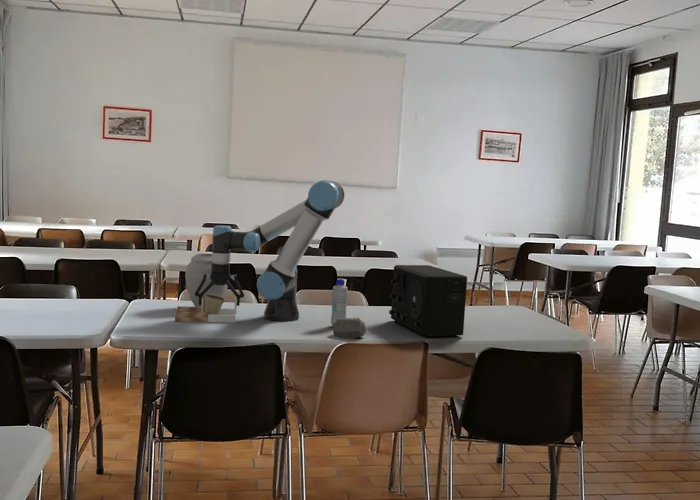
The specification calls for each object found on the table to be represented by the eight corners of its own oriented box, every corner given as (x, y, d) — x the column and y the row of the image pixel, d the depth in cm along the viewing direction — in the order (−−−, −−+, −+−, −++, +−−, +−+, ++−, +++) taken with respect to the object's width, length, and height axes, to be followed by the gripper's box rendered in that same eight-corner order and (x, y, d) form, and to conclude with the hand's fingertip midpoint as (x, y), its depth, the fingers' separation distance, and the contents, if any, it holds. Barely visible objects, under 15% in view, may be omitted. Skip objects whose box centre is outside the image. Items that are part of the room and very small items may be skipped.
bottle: (334, 328, 285) (337, 280, 283) (327, 325, 291) (329, 277, 289) (349, 328, 288) (351, 280, 287) (341, 324, 294) (344, 277, 292)
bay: (234, 315, 302) (234, 308, 302) (235, 322, 287) (235, 315, 287) (208, 314, 300) (208, 307, 300) (207, 322, 285) (208, 314, 285)
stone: (330, 336, 271) (332, 316, 271) (338, 332, 279) (339, 313, 278) (361, 340, 267) (362, 320, 267) (367, 336, 275) (368, 317, 274)
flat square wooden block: (210, 315, 300) (211, 307, 299) (210, 321, 286) (210, 313, 286) (177, 314, 297) (177, 306, 297) (175, 321, 283) (175, 312, 283)
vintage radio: (383, 320, 310) (386, 264, 308) (423, 319, 317) (426, 264, 314) (420, 339, 275) (424, 276, 273) (464, 338, 282) (468, 276, 279)
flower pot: (211, 320, 287) (216, 299, 286) (193, 313, 291) (198, 293, 290) (224, 319, 295) (230, 300, 295) (207, 313, 299) (212, 294, 299)
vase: (184, 313, 300) (185, 257, 298) (183, 305, 319) (185, 252, 317) (230, 313, 305) (232, 258, 303) (227, 305, 324) (229, 253, 321)
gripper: (250, 262, 297) (248, 312, 299) (190, 260, 292) (188, 310, 294) (251, 265, 290) (249, 315, 292) (189, 262, 285) (187, 314, 287)
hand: (218, 313), depth 293 cm, fingers open, 13 cm apart
